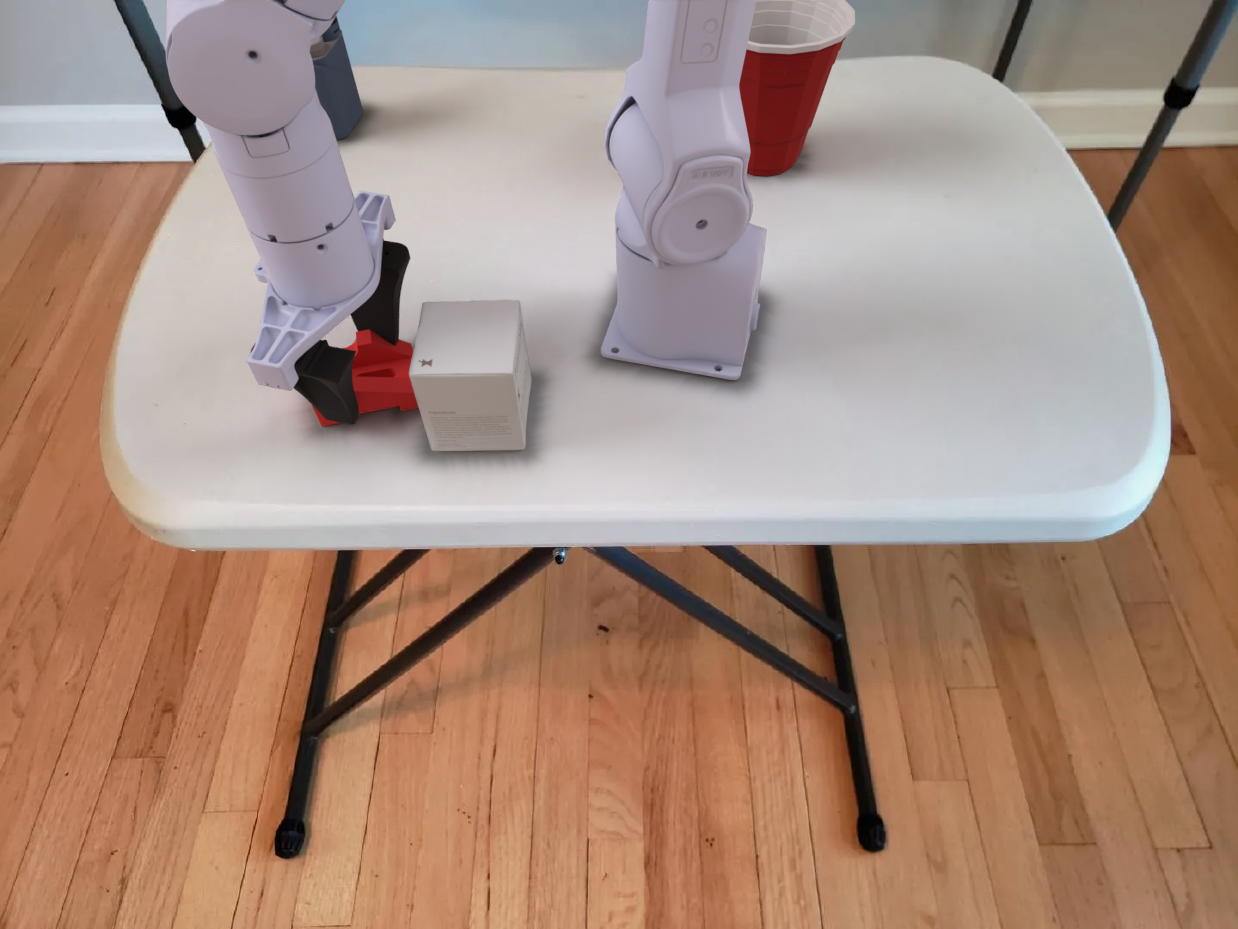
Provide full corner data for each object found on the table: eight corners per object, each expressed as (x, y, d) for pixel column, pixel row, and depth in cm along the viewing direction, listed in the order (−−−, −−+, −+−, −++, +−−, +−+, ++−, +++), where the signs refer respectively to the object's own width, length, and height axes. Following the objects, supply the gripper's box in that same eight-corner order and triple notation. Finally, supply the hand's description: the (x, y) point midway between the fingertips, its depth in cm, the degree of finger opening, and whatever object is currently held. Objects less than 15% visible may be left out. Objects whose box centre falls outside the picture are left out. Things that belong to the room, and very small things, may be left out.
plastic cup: (817, 112, 78) (842, -33, 68) (840, 192, 71) (871, 44, 62) (690, 117, 78) (696, -28, 68) (701, 197, 71) (710, 51, 62)
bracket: (321, 426, 58) (307, 395, 56) (318, 372, 61) (305, 340, 59) (421, 407, 59) (412, 376, 57) (414, 354, 62) (405, 322, 60)
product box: (526, 453, 57) (513, 374, 51) (429, 454, 57) (405, 375, 51) (533, 379, 60) (521, 297, 55) (441, 380, 61) (420, 298, 55)
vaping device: (368, 108, 79) (331, -35, 70) (344, 143, 76) (301, 0, 67) (341, 104, 80) (300, -38, 70) (316, 139, 77) (269, -4, 67)
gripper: (292, 119, 53) (352, 293, 64) (158, 289, 44) (253, 455, 55) (406, 135, 52) (447, 309, 63) (290, 312, 43) (360, 477, 54)
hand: (363, 379), depth 59 cm, fingers closed on bracket, 6 cm apart
